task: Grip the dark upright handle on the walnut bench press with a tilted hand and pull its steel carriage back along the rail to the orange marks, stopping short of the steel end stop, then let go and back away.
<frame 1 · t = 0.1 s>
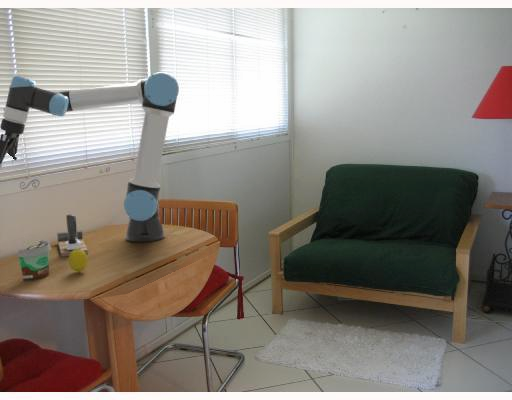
press handle: (72, 231, 195), point 8 cm above the table, slide at 0.0 cm
food container: (41, 276, 170), on the table
press bench: (72, 248, 202), on the table
lemon: (79, 273, 173), on the table
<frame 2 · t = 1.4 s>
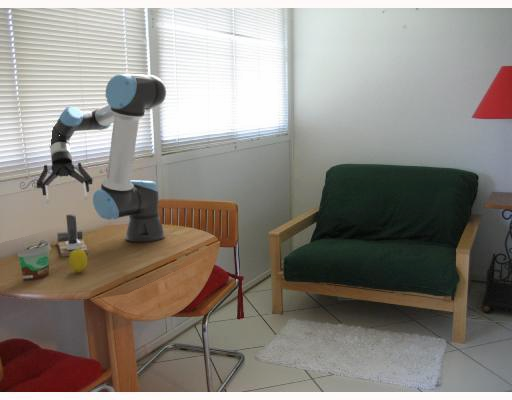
hand: (67, 199, 203), 18 cm above the table, tool tilted 45°, fingers open, 13 cm apart
nothing on the table moved.
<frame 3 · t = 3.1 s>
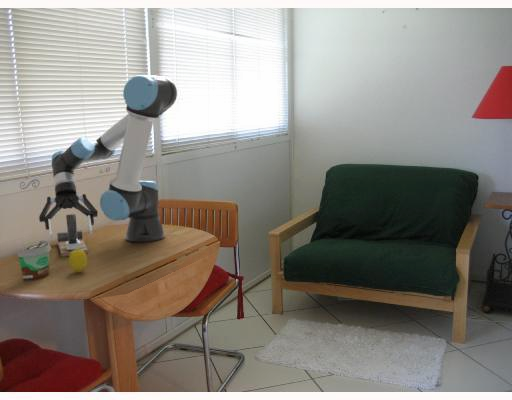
hand: (71, 234, 194), 7 cm above the table, tool tilted 45°, fingers open, 13 cm apart
nothing on the table moved.
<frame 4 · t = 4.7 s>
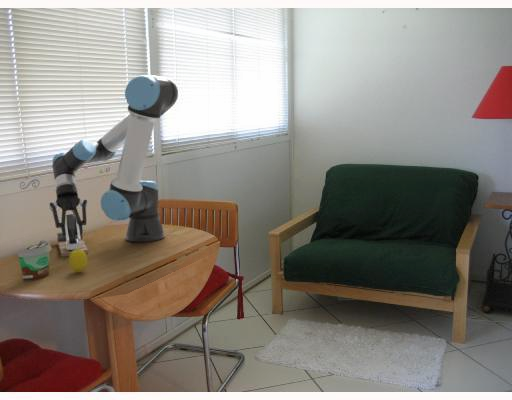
hand: (73, 241, 192), 5 cm above the table, tool tilted 45°, fingers closed on press handle, 3 cm apart
press handle: (72, 231, 195), point 8 cm above the table, slide at 0.0 cm, touching gripper
everything else where it was.
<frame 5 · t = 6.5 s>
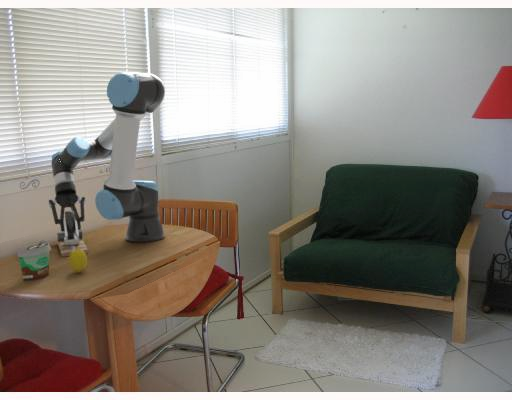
hand: (72, 237, 198), 5 cm above the table, tool tilted 45°, fingers closed on press handle, 3 cm apart
press handle: (70, 227, 201), point 8 cm above the table, slide at 6.8 cm, touching gripper
everything else where it was.
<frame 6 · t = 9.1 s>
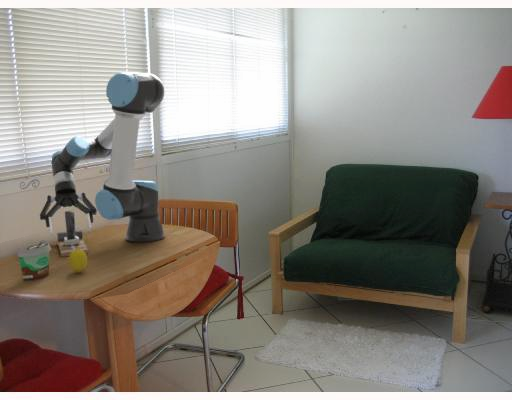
hand: (71, 231, 200), 7 cm above the table, tool tilted 45°, fingers open, 13 cm apart
press handle: (70, 227, 201), point 8 cm above the table, slide at 6.9 cm
everything else where it was.
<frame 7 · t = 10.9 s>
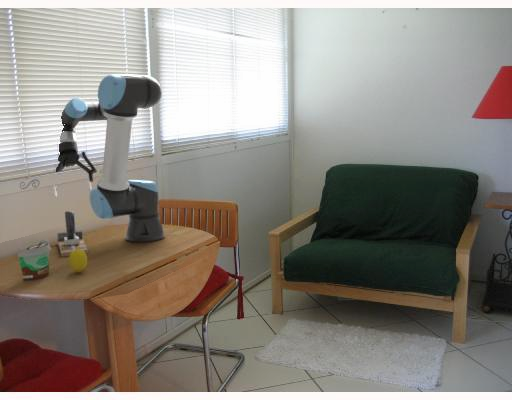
hand: (72, 192, 214), 19 cm above the table, tool tilted 30°, fingers open, 13 cm apart
nothing on the table moved.
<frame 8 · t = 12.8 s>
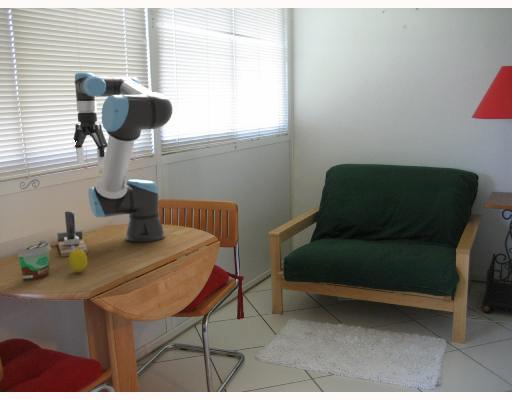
hand: (91, 164, 223), 29 cm above the table, tool pointing down, fingers open, 13 cm apart
nothing on the table moved.
at the end: press handle slide at 6.9 cm; the gripper is holding nothing; food container moved 0.2 cm from its start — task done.
